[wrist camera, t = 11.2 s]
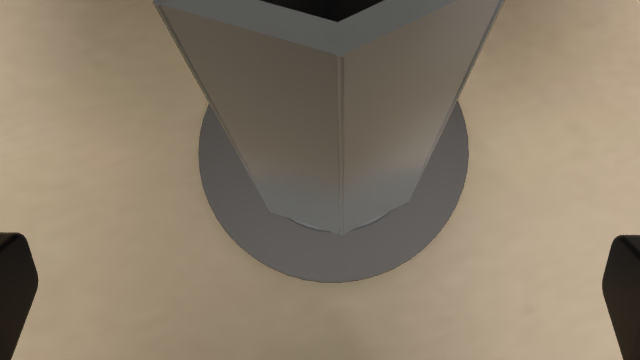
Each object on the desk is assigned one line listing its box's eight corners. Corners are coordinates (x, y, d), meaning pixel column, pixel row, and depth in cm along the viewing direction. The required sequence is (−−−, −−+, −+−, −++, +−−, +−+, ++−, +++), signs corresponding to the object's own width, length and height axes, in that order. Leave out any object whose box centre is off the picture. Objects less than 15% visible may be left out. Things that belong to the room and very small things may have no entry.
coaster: (468, 36, 22) (471, 31, 21) (463, 293, 19) (465, 292, 19) (218, 22, 22) (216, 17, 22) (184, 271, 20) (181, 270, 20)
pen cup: (439, 97, 21) (589, -279, 8) (391, 256, 19) (482, 98, 7) (282, 52, 21) (196, -361, 9) (225, 202, 20) (30, -31, 8)
